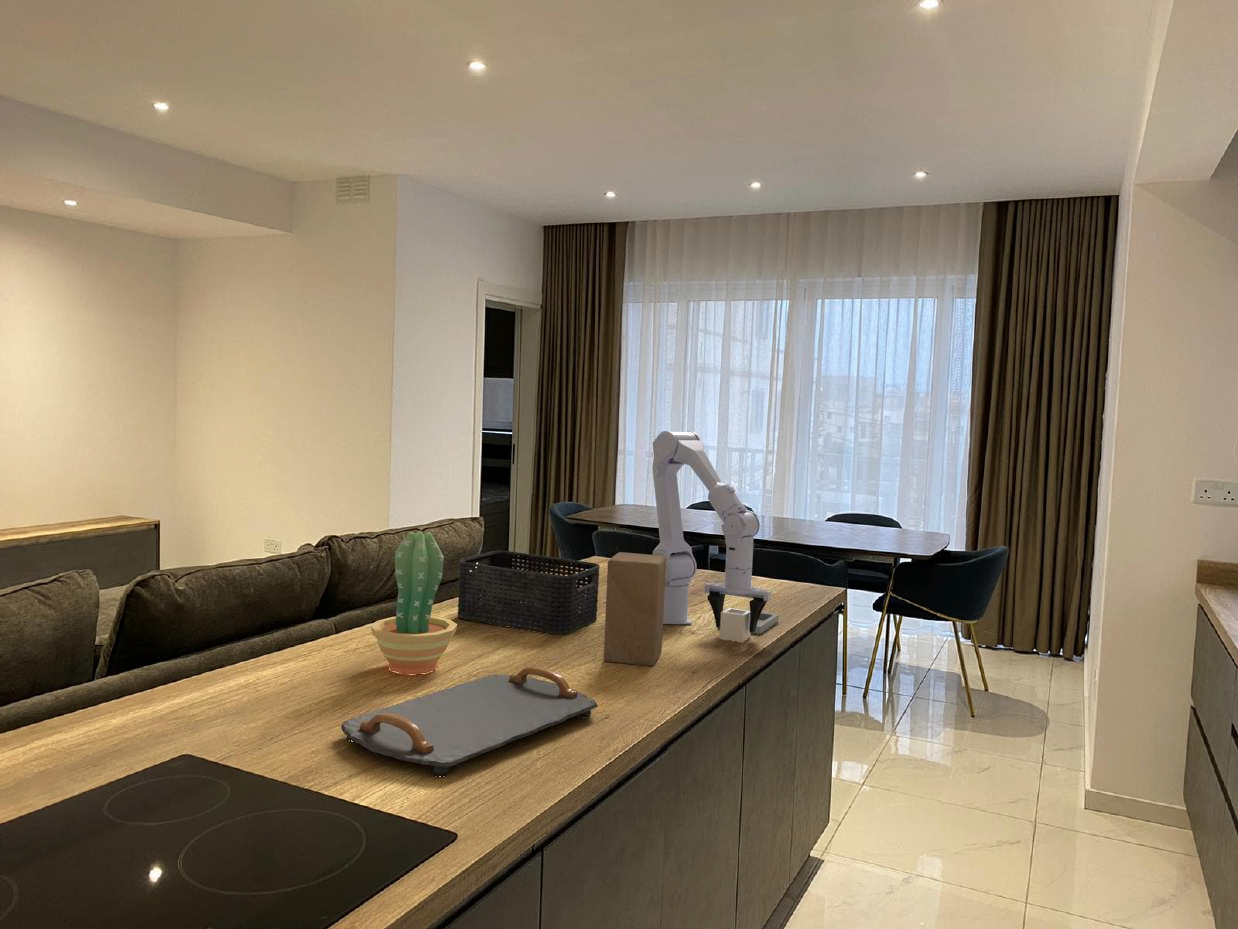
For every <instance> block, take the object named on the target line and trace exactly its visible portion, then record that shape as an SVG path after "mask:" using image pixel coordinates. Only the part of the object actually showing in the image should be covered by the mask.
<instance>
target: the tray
mask: <svg viewBox="0 0 1238 929" xmlns="http://www.w3.org/2000/svg"><path fill="white" fill-rule="evenodd" d="M739 609H740V610H744V608H743V609H742V608H739ZM746 610H747V611H750V609H749V610H748V609H746ZM777 622H778V623H779V614H777V613H768V612H761V614H760V616H759V619H758V622H757V626H756V630H755V632H753V633H756V634H755V635H759V634H760V635H762V634H763V633H765V632H766V631H768V630H769V629H771V628H770V626H772V627H774V626H775V625H776V624H778V623H777ZM775 623H776V624H775ZM774 624H775V625H774ZM773 625H774V626H773ZM768 628H769V629H768ZM717 629H720V627H717ZM764 631H765V632H764ZM761 633H762V634H761ZM750 634H752V633H751V632H750Z"/></svg>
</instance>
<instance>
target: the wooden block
mask: <svg viewBox="0 0 1238 929" xmlns="http://www.w3.org/2000/svg"><path fill="white" fill-rule="evenodd" d="M606 573H607V575H606V594H605V595H606V596H605V616H604V618H605V620H604V622H605V623H604V638H603V639H604V640H603V642H604V643H603V662H607V663H617V664H625V665H626V664H627V665H635V664H637V666H645V665H646V667H654V666H655V664H656V663H657V660H658V659H659V657H660V656H661V653H662V651H663V635H664V633H663V632H664V631H663V630H664V624H663V615H664V594H665V574H666V557H665V556H661V555H653V554H646V553H636V552H635V553H633V552H622V551H621V552H620V551H619V552H617V553H616V554H614V555H613V556H612V557H611V558H609V559H608V560H607V572H606Z"/></svg>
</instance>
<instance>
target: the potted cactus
mask: <svg viewBox="0 0 1238 929" xmlns="http://www.w3.org/2000/svg"><path fill="white" fill-rule="evenodd" d="M440 548H441V547H439V545H438V542H437V541H436V539H435V538H434V536H433V534H432V533H431V532H430V531H428V532H425V533H423V531H419V530H418V531H417V532H413V531H409V532H408V533H407V534H406V536H405V537H404V538H403V539H402V541H401V543H400V544H399V545H398V546H397V549H396V551H395V553H394V571H395V573H394V575H395V579H396V585H397V589H398V591H397V592H398V593H397V602H396V613H395V616H391V617H387V618H383V619H379V620H376V621H375V622H373V623H372V625H370V628H371V634H372V636H374V637H375V638H376V640H377V643H378V646H379V650H380V652H381V653H382V654H383V656H384V657H385V659H386V660H387V662H388V667H389V668H390V670H391V671H396V672H399V673H401V674H421V673H427V672H430V671H434V670H436V668H437V667H438V668H439V664H438V661H439V660H440V659H441V657H442V656H443V655H444V653H445V652H446V651H447V648H448V645H449V644H450V640H451V639H452V637H453V636H454V635H455V633H456V631H457V626H458V624H457V623H456V622H454V621H453V620H452V619H448V618H444V617H439V616H434V615H433V616H432V615H431V614H432V609H433V607H434V606H433V605H434V602H435V595H436V593H437V591H438V588H439V586H440V584H441V582H442V579H443V572H444V571H443V570H444V562H445V561H444V560H445V556H444V553H442V551H441V549H440ZM388 667H387V668H388ZM436 671H437V670H436ZM434 672H435V671H434Z"/></svg>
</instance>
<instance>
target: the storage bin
mask: <svg viewBox="0 0 1238 929" xmlns="http://www.w3.org/2000/svg"><path fill="white" fill-rule="evenodd" d="M485 561H487V564H480V563H481V562H485ZM459 563H460V566H459V577H458V579H459V582H458V583H459V584H458V601H457V602H458V603H457V617H458V618H461V619H465V620H466V619H467V621H471V620H473V621H472V622H476V621H479V622H478V623H482V622H483V623H484V624H488V623H491V624H490V625H494V624H495V626H499V625H500V626H501V627H505V626H509V627H508V628H510V627H514V628H513V629H516V628H518V629H517V630H522V629H523V631H527V630H530V631H529V632H533V631H535V632H534V633H539V632H540V633H539V634H545V633H548V634H547V635H568V634H572V633H573V632H576V631H578V630H580V629H582V628H585V627H586V626H588V625H589V626H590V624H593V623H595V622H596V621H597V620H598V617H597V614H598V603H599V602H598V601H599V600H598V598H599V597H598V595H599V585H600V582H599V581H600V579H599V577H600V568H601V566H600V564H599V563H595V562H588V561H582V560H575V559H569V558H567V559H566V558H561V557H552V556H547V555H539V554H534V553H533V554H531V553H526V552H525V553H524V552H518V551H509V550H494V551H489V552H486V553H482V554H481V553H480V554H477V555H473V556H468V557H464V558H460V560H459ZM483 623H482V624H483Z"/></svg>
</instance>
